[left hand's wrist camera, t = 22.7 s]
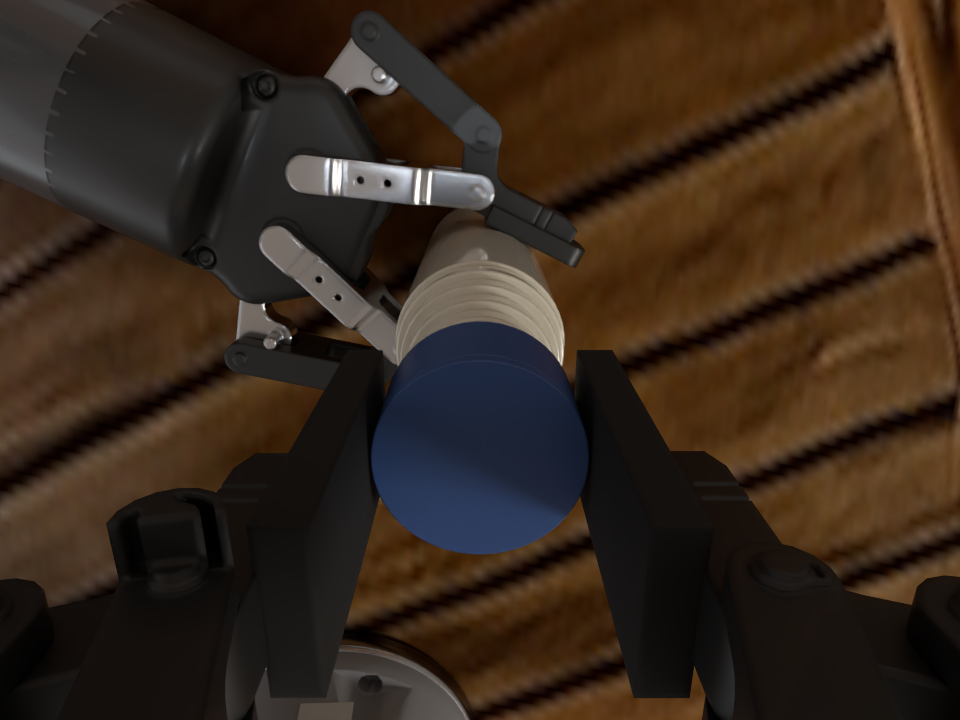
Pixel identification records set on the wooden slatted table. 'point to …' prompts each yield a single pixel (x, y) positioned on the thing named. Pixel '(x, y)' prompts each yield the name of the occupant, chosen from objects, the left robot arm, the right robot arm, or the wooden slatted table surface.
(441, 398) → the cap
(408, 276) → the wooden slatted table surface
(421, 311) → the bottle
